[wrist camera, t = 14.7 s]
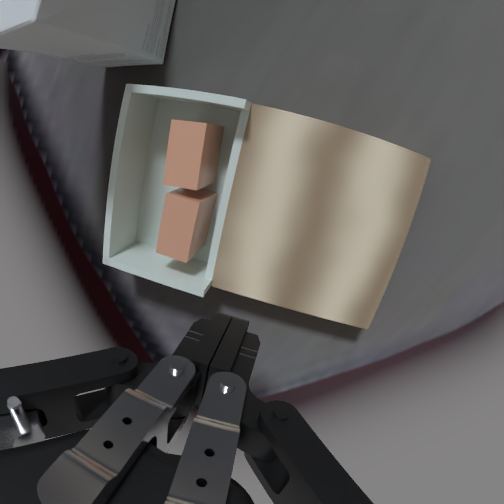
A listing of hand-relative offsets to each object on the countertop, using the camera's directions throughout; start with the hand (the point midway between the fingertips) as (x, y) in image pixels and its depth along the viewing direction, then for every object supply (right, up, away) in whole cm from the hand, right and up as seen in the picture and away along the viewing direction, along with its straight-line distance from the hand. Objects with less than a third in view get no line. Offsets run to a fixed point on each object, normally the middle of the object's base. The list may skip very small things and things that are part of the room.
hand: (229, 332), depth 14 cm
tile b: (-3, +6, +10) cm, 12 cm away
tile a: (-2, +10, +8) cm, 13 cm away
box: (-4, +9, +12) cm, 16 cm away
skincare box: (-9, +23, +8) cm, 26 cm away
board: (+6, +6, +11) cm, 14 cm away
